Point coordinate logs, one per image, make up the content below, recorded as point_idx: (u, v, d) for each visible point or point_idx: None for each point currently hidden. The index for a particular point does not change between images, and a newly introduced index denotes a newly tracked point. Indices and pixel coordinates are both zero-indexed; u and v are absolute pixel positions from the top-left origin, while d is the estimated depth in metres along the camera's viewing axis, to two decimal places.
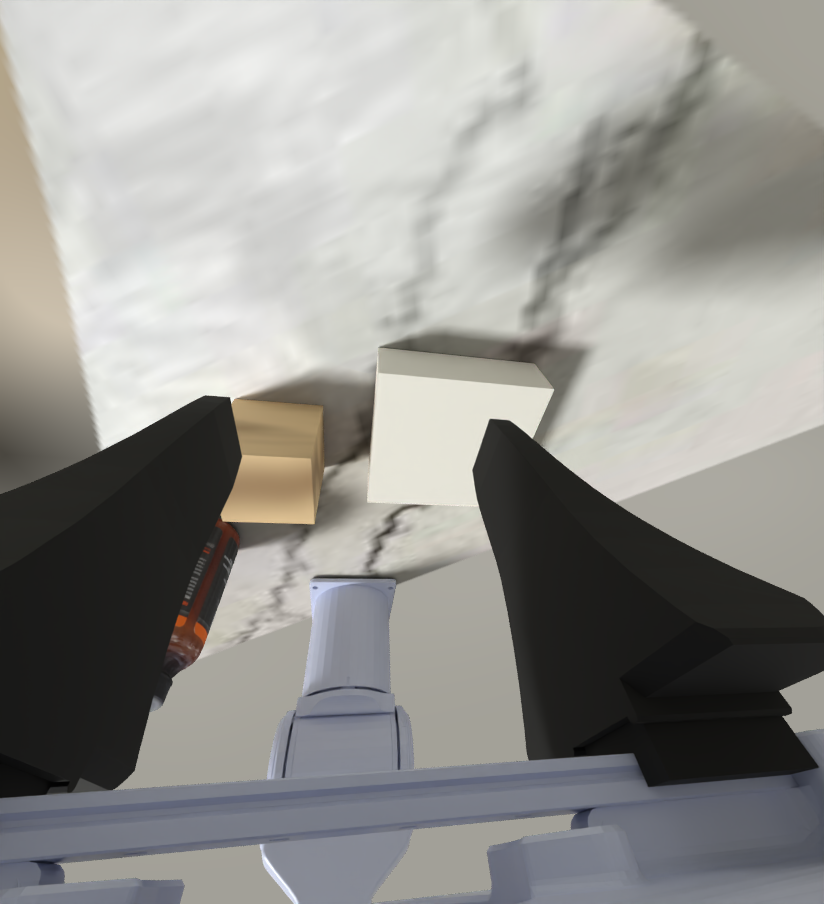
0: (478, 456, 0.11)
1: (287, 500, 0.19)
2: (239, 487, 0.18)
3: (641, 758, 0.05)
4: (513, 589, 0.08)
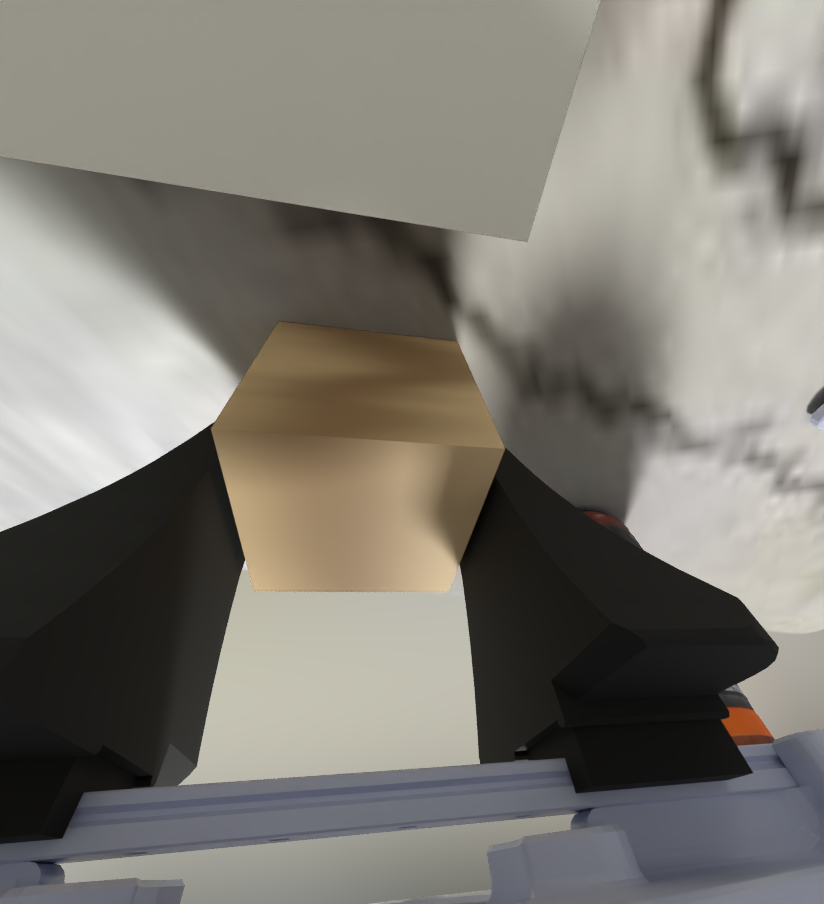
0: None
1: (392, 494, 0.07)
2: (344, 562, 0.08)
3: (570, 763, 0.05)
4: (471, 589, 0.08)
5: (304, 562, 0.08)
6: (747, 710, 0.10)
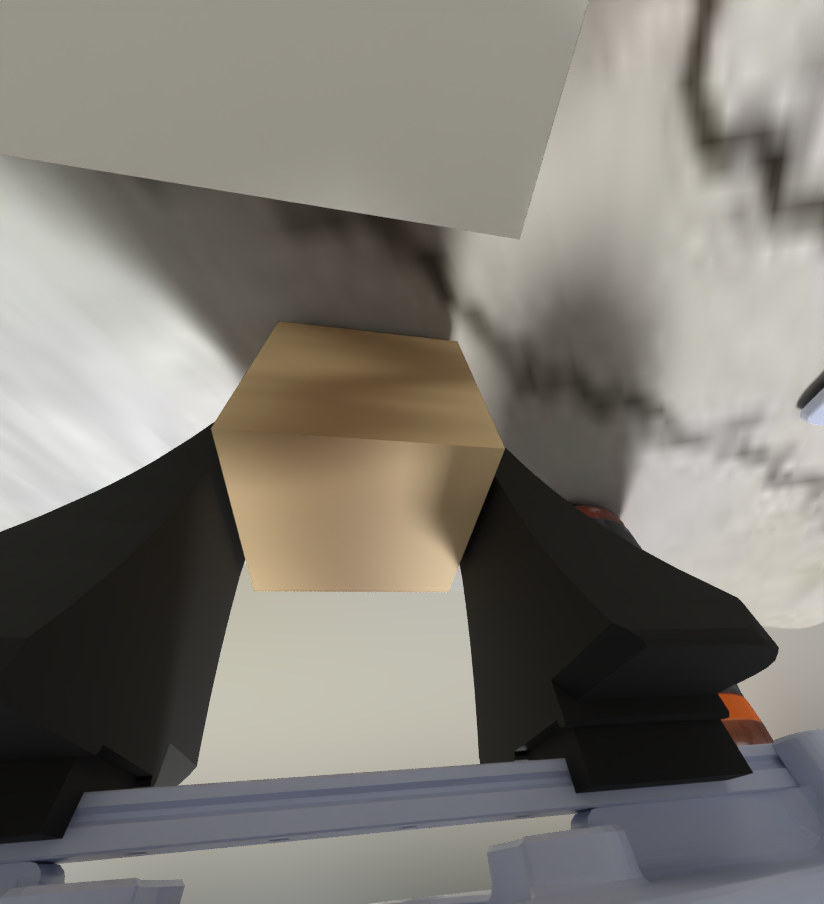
0: None
1: (392, 494, 0.07)
2: (344, 561, 0.08)
3: (571, 763, 0.05)
4: (471, 589, 0.08)
5: (304, 562, 0.08)
6: (737, 696, 0.10)
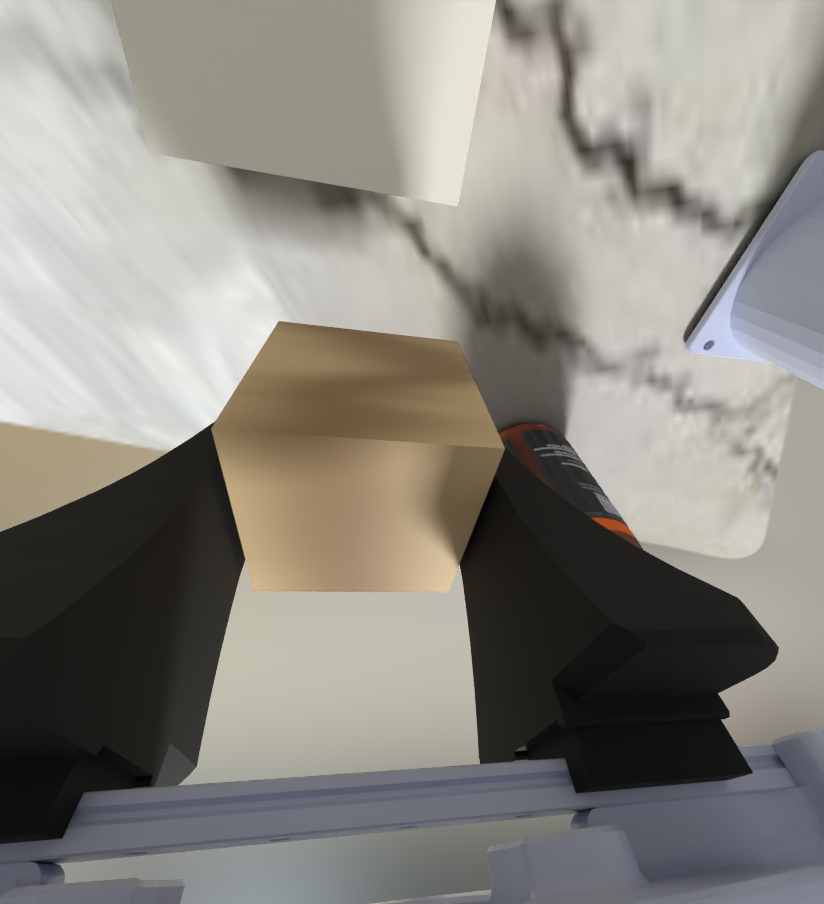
0: None
1: (392, 494, 0.07)
2: (344, 561, 0.08)
3: (571, 762, 0.05)
4: (471, 589, 0.08)
5: (304, 562, 0.08)
6: (620, 523, 0.15)
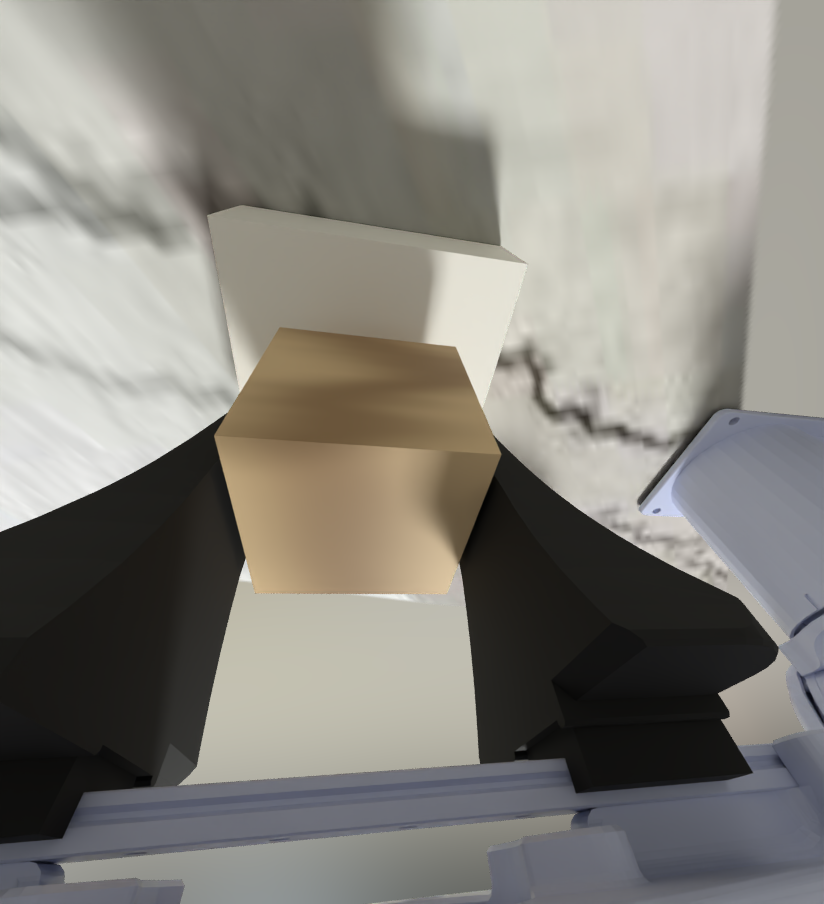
0: None
1: (391, 499, 0.07)
2: (344, 564, 0.08)
3: (571, 763, 0.05)
4: (471, 589, 0.08)
5: (305, 565, 0.08)
6: None
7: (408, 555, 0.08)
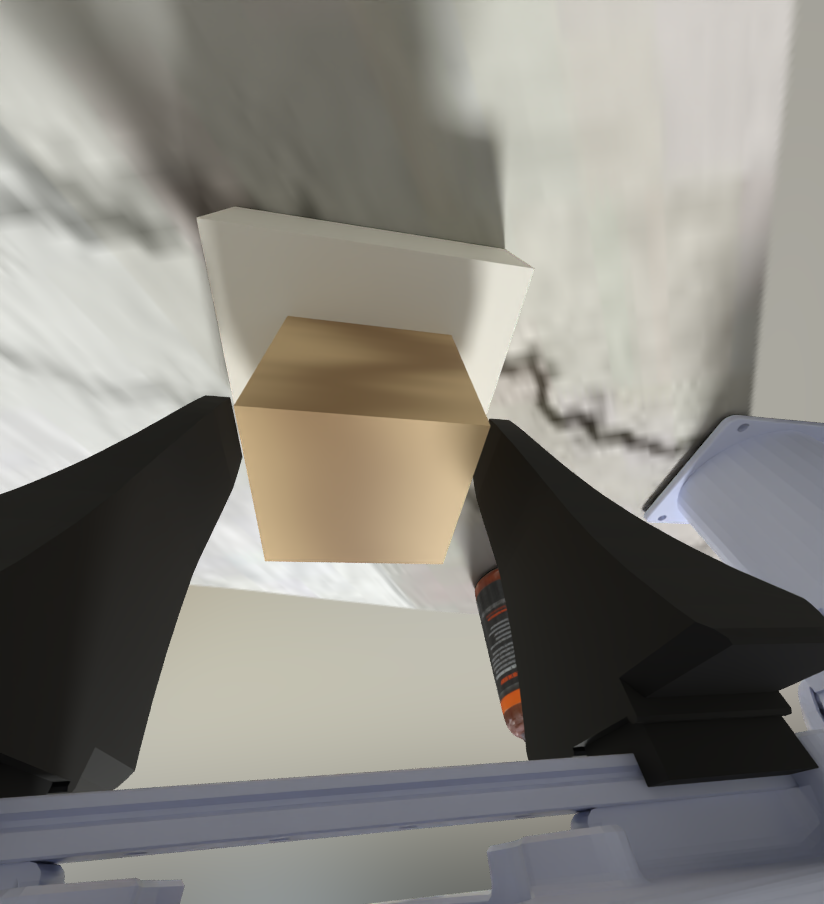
0: None
1: (391, 468, 0.08)
2: (348, 532, 0.09)
3: (641, 758, 0.05)
4: (513, 589, 0.08)
5: (312, 533, 0.09)
6: None
7: (407, 524, 0.09)
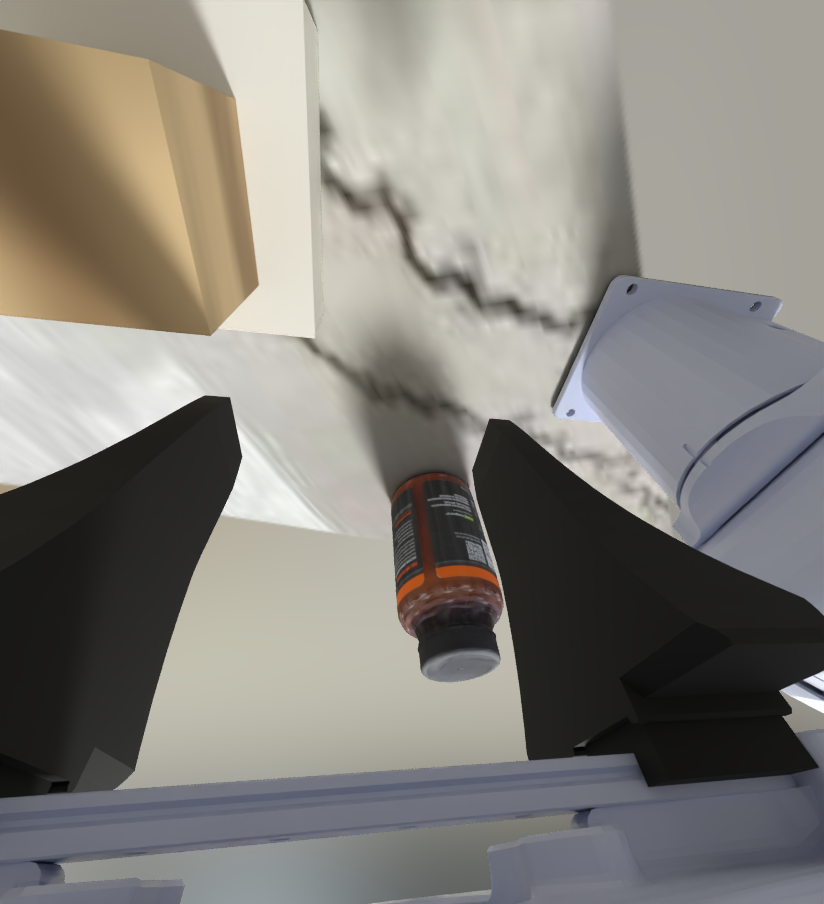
0: (478, 456, 0.11)
1: (62, 138, 0.07)
2: (67, 266, 0.08)
3: (641, 758, 0.05)
4: (513, 589, 0.08)
5: (22, 262, 0.08)
6: (480, 568, 0.18)
7: (132, 254, 0.08)
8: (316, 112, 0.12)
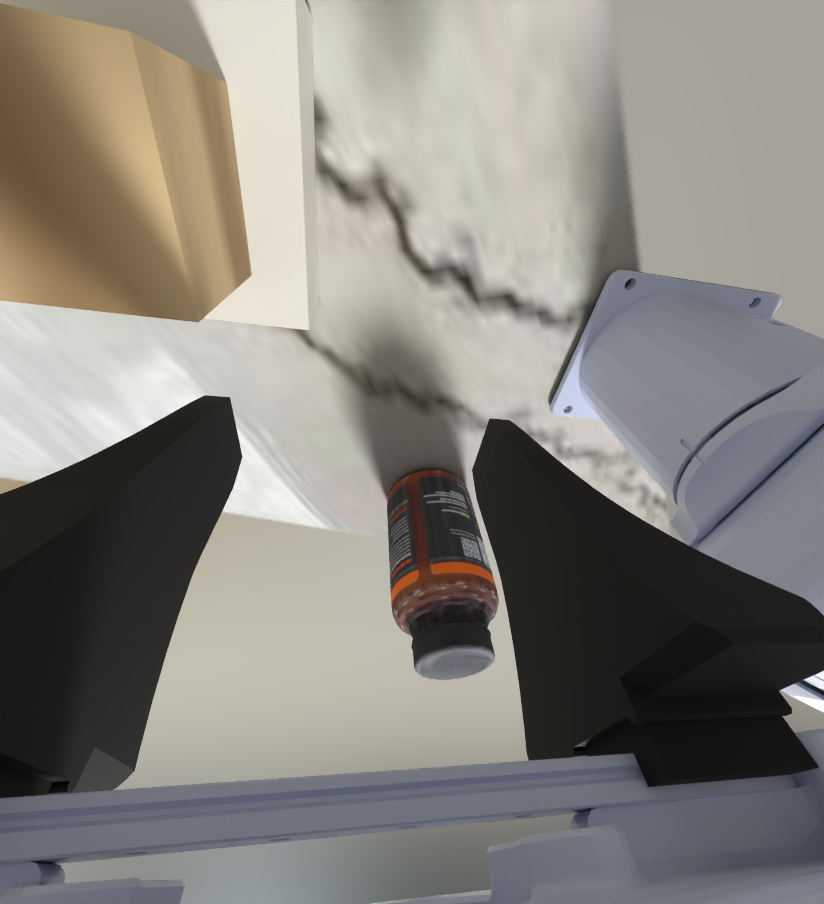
0: (478, 456, 0.11)
1: (42, 114, 0.07)
2: (50, 247, 0.08)
3: (641, 758, 0.05)
4: (513, 589, 0.08)
5: (4, 244, 0.08)
6: (475, 565, 0.18)
7: (117, 236, 0.08)
8: (310, 99, 0.12)
